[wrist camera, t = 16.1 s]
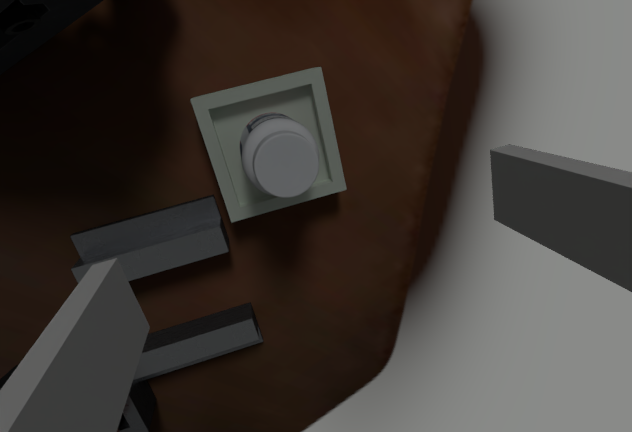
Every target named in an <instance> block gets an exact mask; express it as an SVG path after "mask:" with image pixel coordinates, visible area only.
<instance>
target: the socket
mask: <svg viewBox="0 0 632 432" xmlns="http://www.w3.org/2000/svg"><path fill="white" fill-rule="evenodd" d="M70 237H71V239H72V241H73V243H74V245H75V247H76V249H77V251H78V253H79V255H80V257H81V258H80V259H79V260H78V261H77V262H76V264H75V265H74V266H73V267H72V268H71V270H72V272H73V274H74V276H75V278H76V280H77V282H78V283H79V282H80V281H81V280H82V278H83V277H84V276H85V274H86V273H87V272H88V270H89V269H90V268H91V266H92V265H94V264H97V263H101V262H104V261H108V260H111V259H115V258H117V259H118V261H119V263H120V265H121V267H122V269H123V272H124V274H125V276H126V278H127V280H128V281H131V280H134V279H138V278H141V277H144V276H148V275H151V274H155V273H158V272H161V271H165V270H168V269H172V268H175V267H178V266H182V265H185V264H188V263H192V262H195V261H199V260H202V259H205V258H209V257H212V256H216V255H219V254H222V253H226V252H229V238H228V235H227V232H226V229H225V226H224V223H223V220H222V217H221V215H220V212H219V209H218V206H217V203H216V200H215V197H214V195H210V196H207V197H203V198H199V199H196V200H192V201H189V202H185V203H181V204H178V205H174V206H171V207H167V208H163V209H160V210H156V211H153V212H149V213H145V214H142V215H138V216H134V217H131V218H127V219H124V220H120V221H116V222H113V223H109V224H106V225H102V226H98V227H95V228H91V229H88V230H84V231H80V232H77V233H73V234H72V235H71V236H70ZM260 342H263V337H262V334H261V331H260V328H259V325H258V322H257V320H256V317H255V314H254V311H253V308H252V305H251V302H250V303H247V304H244V305H240V306H237V307H234V308H231V309H228V310H224V311H221V312H218V313H215V314H212V315H208V316H205V317H202V318H199V319H196V320H192V321H189V322H186V323H183V324H179V325H176V326H173V327H170V328H167V329H163V330H160V331H157V332H154V333H151V334H148V335H147V338H146V341H145V344H144V347H143V350H142V353H141V357H140V360H139V363H138V366H137V369H136V372H135V375H134V379H133V380H135V379H138V378H141V377H142V378H143V380H146V379H149V378H152V377H156V376H159V375H162V374H165V373H168V372H171V371H174V370H177V369H180V368H183V367H186V366H189V365H193V364H196V363H199V362H202V361H205V360H208V359H211V358H214V357H217V356H220V355H223V354H226V353H230V352H233V351H236V350H239V349H242V348H245V347H248V346H251V345H254V344H257V343H260Z"/></svg>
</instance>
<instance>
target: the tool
mask: <svg viewBox="0 0 632 432" xmlns="http://www.w3.org/2000/svg"><path fill="white" fill-rule="evenodd" d="M102 1H103V0H0V75H1V74H2V73H3V72H5V71H6V70H8V69H9V68H10V67H12V66H13V65H15V64H16V63H17V62H19V61H20V60H21V59H23V58H24V57H26V56H27V55H28V54H30V53H31V52H33V51H34V50H35V49H37V48H38V47H39V46H41V45H42V44H44V43H45V42H46V41H48V40H49V39H50V38H52V37H53V36H55V35H56V34H57V33H59V32H60V31H62V30H63V29H64V28H66V27H67V26H68V25H70V24H71V23H73V22H74V21H75V20H77V19H78V18H80V17H81V16H82V15H84V14H85V13H86V12H88V11H89V10H91V9H92V8H93V7H95V6H96V5H98V4H99V3H100V2H102Z"/></svg>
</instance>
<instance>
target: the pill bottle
mask: <svg viewBox="0 0 632 432" xmlns="http://www.w3.org/2000/svg"><path fill="white" fill-rule="evenodd" d="M240 154H241V160H242V166H243V169H244V172H245V174H246V176H247V178H248V179H249V181H250V182H251V183H252V184H253V185H254V186H255V187H256V188H257V189H259V190H260V191H262V192H264V193H266V194H269V195H273V196H277V197H282V198H290V197H295V196H298V195H300V194H302V193H304V192H305V191H307V190H308V189H309V188H310V187H311V186H312V184H313V183H314V181H315V180H316V177H317V175H318V171H319V149H318V145H317V143H316V140H315V138H314V137H313V135H312V134H311V133H310V131H309V130H308V129H307V128H306V127H304V126H303V125H302V124H300V123H299V122H297V121H295V120H293V119H291V118H290V117H288V116H286V115H284V114H281V113H275V112H269V113H264V114H260V115H258V116H256V117H255V118H253V119H252V120H251V121H250V122H249V123H248V124H247V125H246V127H245V128H244V130H243V132H242V135H241V139H240Z"/></svg>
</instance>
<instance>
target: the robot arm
mask: <svg viewBox="0 0 632 432" xmlns="http://www.w3.org/2000/svg"><path fill="white" fill-rule="evenodd" d="M490 155H491V170H492V186H493V187H492V188H493V202H494V203H493V204H494V220H496V221H498V222H500V223H502V224H504V225H505V226H507V227H509V228H511V229H513V230H515V231H517V232H519V233H521V234H523V235H524V236H526V237H528V238H530V239H532V240H534V241H536V242H538V243H540V244H542V245H543V246H545V247H547V248H549V249H551V250H553V251H555V252H557V253H559V254H561V255H562V256H564V257H566V258H568V259H570V260H572V261H574V262H576V263H578V264H580V265H581V266H583V267H585V268H587V269H589V270H591V271H593V272H595V273H597V274H598V275H601V276H602V277H604V278H606V279H608V280H610V281H612V282H614V283H616V284H618V285H619V286H621V287H623V288H625V289H627V290H629V291H631V292H632V172H628V171H623V170H619V169H615V168H610V167H606V166H601V165H597V164H593V163H588V162H584V161H580V160H575V159H571V158H566V157H562V156H558V155H554V154H549V153H545V152H541V151H536V150H532V149H528V148H523V147H519V146H515V145H510V144H509V145H505V146H502V147H499V148H495V149H492V150H490ZM149 328H150V327H149V325H148V322H147V320H146V318H145V316H144V314H143V312H142V310H141V308H140V305H139V303H138V301H137V299H136V297H135V295H134V293H133V291H132V289H131V286H130V284H129V282H128V280H127V278H126V276H125V274H124V272H123V269H122V267H121V265H120V263H119V261H118V259H117V258H115V259H111V260H108V261H104V262H101V263H97V264H94V265H92V266H91V268H90V269H89V270H88V272H87V273H86V274H85V276H84V277H83V278H82V280H81V281H80V282H79V284H78V285H77V287H76V288H75V289H74V291H73V292H72V293H71V295H70V296H69V297H68V299H67V300H66V301H65V303H64V304H63V306H62V307H61V308H60V310H59V311H58V312H57V314H56V315H55V316H54V318H53V319H52V321H51V322H50V323H49V325H48V326H47V327H46V329H45V330H44V331H43V333H42V334H41V335H40V337H39V338H38V340H37V341H36V342H35V344H34V345H33V346H32V348H31V349H30V350H29V352H28V353H27V354H26V356H25V357H24V359H23V360H22V361H21V363H20V364H19V365H16V366H15V367H14V368H13V369H11V370H10V371H9V372H8V373H7V374H6V375H5V376H3V377H2V378H1V379H0V432H117V429H118V426H119V422H120V419H121V416H122V413H123V410H124V407H125V404H126V401H127V397H128V394H129V391H130V388H131V385H132V382H133V379H134V375H135V372H136V369H137V366H138V363H139V360H140V357H141V353H142V350H143V347H144V344H145V341H146V338H147V335H148V332H149Z"/></svg>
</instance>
